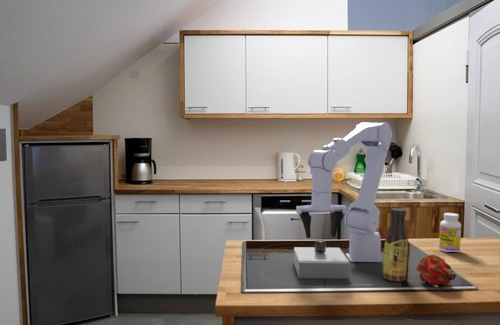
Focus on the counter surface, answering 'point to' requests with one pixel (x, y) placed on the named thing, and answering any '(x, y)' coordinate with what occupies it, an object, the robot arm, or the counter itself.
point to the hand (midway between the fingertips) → (320, 237)
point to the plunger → (320, 246)
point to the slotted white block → (321, 263)
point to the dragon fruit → (435, 270)
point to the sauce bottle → (396, 247)
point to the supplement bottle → (450, 233)
